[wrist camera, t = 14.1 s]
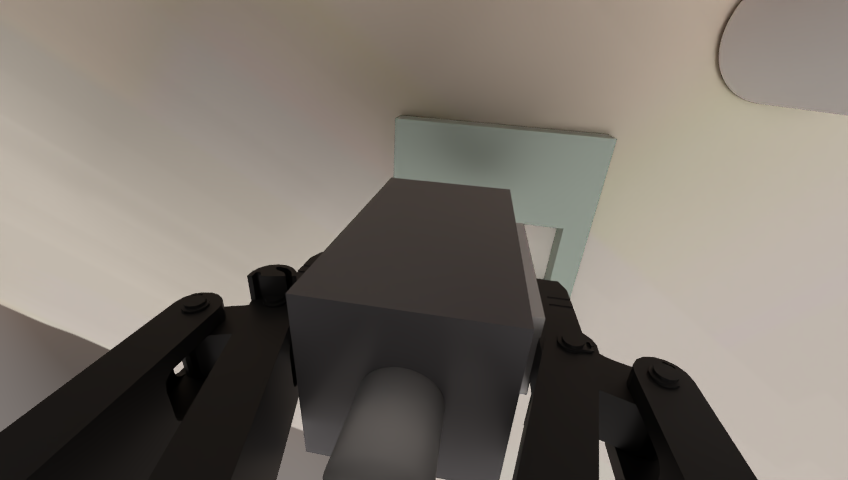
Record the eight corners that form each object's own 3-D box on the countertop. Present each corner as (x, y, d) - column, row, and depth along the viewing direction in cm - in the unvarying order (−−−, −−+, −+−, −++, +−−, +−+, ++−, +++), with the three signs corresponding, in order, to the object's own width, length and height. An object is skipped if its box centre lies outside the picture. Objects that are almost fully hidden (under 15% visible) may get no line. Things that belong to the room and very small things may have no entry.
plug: (391, 177, 15) (221, 364, 6) (509, 189, 15) (550, 421, 5) (389, 277, 18) (264, 538, 8) (493, 291, 17) (498, 593, 7)
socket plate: (400, 115, 29) (395, 118, 27) (608, 134, 27) (616, 139, 26) (393, 323, 38) (388, 335, 37) (547, 347, 37) (551, 361, 35)
